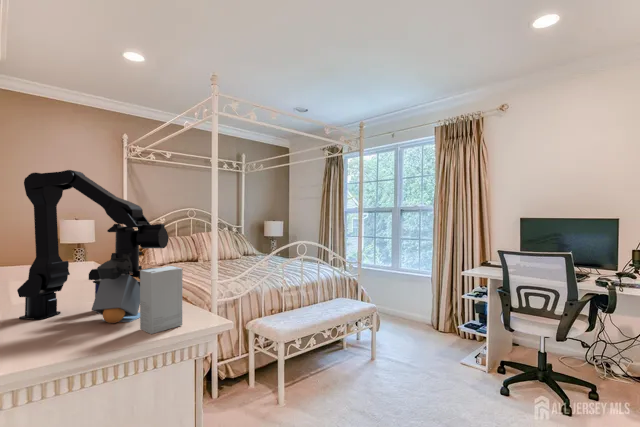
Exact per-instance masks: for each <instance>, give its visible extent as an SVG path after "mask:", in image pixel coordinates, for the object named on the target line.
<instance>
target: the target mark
mask: <svg viewBox="0 0 640 427" xmlns="http://www.w3.org/2000/svg"><path fill="white" fill-rule="evenodd" d="M139 318H140V312H138V314H137V316H131V317H123V318H122V320H120V321H119V322H123V323H128V322H129V323H130V322H133V321H136V320H137V319H139ZM101 321H103V322H106V321H105V320H104V319H102V320H101Z"/></svg>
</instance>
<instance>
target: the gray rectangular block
mask: <svg viewBox="0 0 640 427" xmlns="http://www.w3.org/2000/svg"><path fill="white" fill-rule="evenodd" d="M139 281H140V280H137V279H136V277H132V276H130V275H121V276H119V278H117V279H101V281H100V285H99V288H98V291H97V294H96V297H95V296H94V300H93V304H92V307H91V311H93V312H95V313H96V314H99V315H101V316H103V311H104V309H114V308H121V309H123V310H124V311H125V315H124V317H131V316H137V314H138V313H139V311H140V286H139V284H138V282H139Z"/></svg>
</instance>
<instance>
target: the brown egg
mask: <svg viewBox="0 0 640 427" xmlns="http://www.w3.org/2000/svg"><path fill="white" fill-rule="evenodd" d="M124 315H125V311H124V310H123V309H121V308H114V309H104V311H103V315H102V318H103V320H105V321H104V322H106V323H108V324H115V323H119V322H120V320H122V318H123V317H124Z"/></svg>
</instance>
